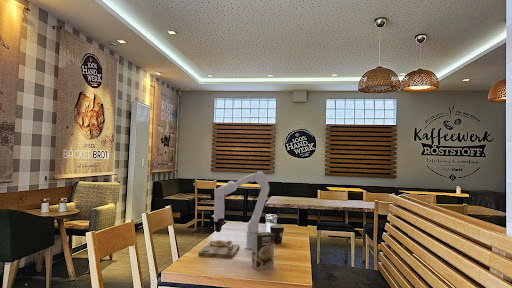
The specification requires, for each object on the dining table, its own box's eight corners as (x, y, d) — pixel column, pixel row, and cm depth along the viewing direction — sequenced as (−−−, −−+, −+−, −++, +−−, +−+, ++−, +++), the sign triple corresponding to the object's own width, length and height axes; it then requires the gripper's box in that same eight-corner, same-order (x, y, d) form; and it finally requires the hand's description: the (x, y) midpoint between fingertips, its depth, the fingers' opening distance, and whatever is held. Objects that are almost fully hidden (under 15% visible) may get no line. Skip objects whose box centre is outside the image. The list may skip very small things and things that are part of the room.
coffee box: (256, 270, 162) (257, 235, 163) (251, 266, 168) (252, 232, 169) (274, 268, 166) (275, 234, 166) (268, 264, 172) (269, 231, 172)
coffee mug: (274, 244, 210) (274, 228, 210) (267, 241, 217) (267, 225, 217) (290, 243, 215) (290, 226, 215) (282, 240, 223) (283, 224, 223)
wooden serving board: (239, 248, 199) (239, 240, 199) (232, 258, 179) (232, 249, 179) (208, 246, 202) (209, 238, 202) (198, 256, 182) (198, 247, 182)
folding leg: (232, 245, 197) (232, 240, 197) (231, 246, 194) (231, 241, 195) (211, 244, 199) (211, 239, 199) (209, 245, 196) (210, 240, 196)
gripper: (215, 206, 211) (214, 228, 210) (209, 209, 197) (208, 234, 196) (227, 206, 210) (226, 229, 209) (221, 210, 196) (220, 234, 195)
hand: (218, 231), depth 203 cm, fingers closed
